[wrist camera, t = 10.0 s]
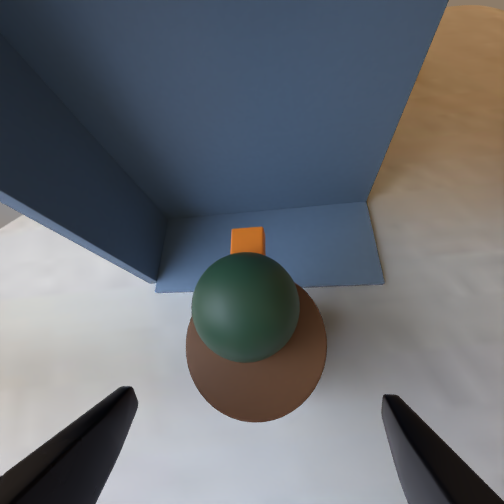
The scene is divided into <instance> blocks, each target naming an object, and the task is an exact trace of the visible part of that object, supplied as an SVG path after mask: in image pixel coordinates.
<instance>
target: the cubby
mask: <svg viewBox="0 0 504 504" xmlns="http://www.w3.org/2000/svg"><path fill="white" fill-rule="evenodd" d="M448 1H449V0H0V202H1V203H3V204H5V205H7V206H9V207H11V208H12V209H14V210H16V211H18V212H20V213H22V214H23V215H25V216H27V217H29V218H31V219H32V220H34V221H36V222H38V223H40V224H42V225H44V226H45V227H47V228H49V229H51V230H53V231H55V232H56V233H58V234H60V235H62V236H64V237H66V238H67V239H69V240H71V241H73V242H75V243H77V244H78V245H80V246H82V247H84V248H86V249H88V250H89V251H91V252H93V253H95V254H97V255H99V256H100V257H102V258H104V259H106V260H108V261H110V262H111V263H113V264H115V265H117V266H119V267H121V268H122V269H124V270H126V271H128V272H130V273H132V274H133V275H135V276H137V277H139V278H141V279H143V280H144V281H146V282H148V283H157V284H156V289H155V292H156V293H171V292H194V290H195V287H196V285H197V283H198V281H199V279H200V277H201V276H202V274H203V273H204V272H205V271H206V269H207V268H208V267H209V266H211V265H212V264H213V263H214V262H216V261H217V260H219V259H221V258H222V257H224V256H227V255H230V250H231V232H232V229H235V228H248V227H263V228H264V232H265V251H266V256H267V257H270V258H271V259H273V260H275V261H276V262H278V263H279V264H280V265H281V266H282V267H283V268H284V269H285V270H286V271H287V272H288V273H289V275H290V276H291V278H292V279H293V281H294V282H295V283H296V284H298V285H299V286H300V287H302V288H305V287H331V286H358V285H383V284H384V283H385V282H384V278H383V273H382V269H381V264H380V260H379V256H378V251H377V247H376V242H375V238H374V233H373V229H372V225H371V220H370V216H369V211H368V207H367V203H366V200H367V198H368V195H369V193H370V191H371V188H372V186H373V183H374V181H375V178H376V176H377V174H378V171H379V169H380V166H381V164H382V161H383V159H384V157H385V154H386V152H387V149H388V147H389V144H390V142H391V140H392V137H393V135H394V132H395V130H396V127H397V125H398V122H399V120H400V118H401V115H402V113H403V110H404V108H405V105H406V103H407V101H408V98H409V96H410V93H411V91H412V88H413V86H414V84H415V81H416V79H417V76H418V74H419V71H420V69H421V67H422V64H423V62H424V59H425V57H426V54H427V52H428V49H429V47H430V45H431V42H432V40H433V37H434V35H435V32H436V30H437V28H438V25H439V23H440V20H441V18H442V15H443V13H444V11H445V8H446V6H447V3H448Z"/></svg>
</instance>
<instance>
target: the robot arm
mask: <svg viewBox="0 0 504 504" xmlns="http://www.w3.org/2000/svg"><path fill="white" fill-rule="evenodd" d="M137 408H138V400H137V397H136V395H135V392H134V389H133V388H132V387H131V386H122V387H120V388H118V389H117V390H116V391H114V392H113V393H111V394H110V395H109V396H107V397H106V398H105V399H103V400H102V401H101V402H99V403H98V404H97V405H95V406H94V407H93V408H91V409H90V410H89V411H87V412H86V413H85V414H83V415H82V416H81V417H79V418H78V419H77V420H75V421H74V422H73V423H71V424H70V425H69V426H67V427H66V428H65V429H63V430H62V431H61V432H59V433H58V434H57V435H55V436H54V437H53V438H51V439H50V440H49V441H47V442H46V443H44V444H43V445H42V446H40V447H39V448H38V449H36V450H35V451H34V452H32V453H31V454H30V455H28V456H27V457H26V458H24V459H23V460H22V461H20V462H19V463H18V464H16V465H15V466H14V467H12V468H11V469H10V470H8V471H7V472H6V473H4V475H3V476H0V504H96V502H97V500H98V498H99V496H100V493H101V491H102V489H103V487H104V485H105V483H106V481H107V479H108V477H109V475H110V473H111V471H112V469H113V467H114V465H115V463H116V460H117V458H118V456H119V454H120V451H121V449H122V447H123V444H124V441H125V439H126V436H127V434H128V431H129V429H130V426H131V424H132V421H133V419H134V416H135V413H136V411H137ZM381 414H382V420H383V424H384V427H385V431H386V434H387V438H388V442H389V445H390V449H391V452H392V456H393V459H394V463H395V467H396V470H397V473H398V477H399V480H400V483H401V485H402V488H403V491H404V494H405V496H406V499H407V501H408V504H504V501H503V500H502V499H501V498H500V497H499V496H498V495H497V494H496V493H495V492H494V491H493V490H492V489H491V488H490V487H489V486H488V485H487V484H486V483H485V482H484V481H483V480H482V479H481V478H480V477H479V476H478V475H477V474H476V473H475V472H474V471H473V470H472V469H471V468H470V467H469V466H468V465H467V464H466V463H465V462H464V461H463V460H462V459H461V458H460V457H459V456H458V455H457V454H456V453H455V452H454V451H453V450H452V449H451V448H450V447H449V446H448V445H447V444H446V443H445V442H444V441H443V440H442V439H441V438H440V437H439V436H438V435H437V434H436V433H435V432H434V431H433V430H432V429H431V428H430V427H429V426H428V425H427V424H426V423H425V422H424V421H423V420H422V419H421V418H420V417H419V416H418V415H417V414H416V413H415V412H414V411H413V410H412V409H411V408H410V407H409V406H408V405H407V404H406V403H405V402H404V401H403V400H402V399H401V398H400V397H399V396H398V395H394V394H384V395H383V400H382V411H381Z"/></svg>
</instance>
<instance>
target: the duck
mask: <svg viewBox="0 0 504 504" xmlns="http://www.w3.org/2000/svg"><path fill="white" fill-rule="evenodd" d="M326 354H327V336H326V331H325V326H324V322H323V319H322V316H321V314H320V312H319V310H318V308H317V306H316V304H315V303H314V301H313V300H312V298H311V297H310V296H309V295H308V293H307V292H306V291H305V290H304V289H303V288H302V287H300V286H299V285H298V284H296V283H295V282H294V281H293V279H292V278H291V276H290V275H289V273H288V272H287V271H286V270H285V269H284V268H283V267H282V266H281V265H280V264H279V263H278V262H276V261H275V260H273V259H271V258H270V257H267V256H266V251H265V232H264V228H263V227H248V228H235V229H232V232H231V250H230V255H227V256H224V257H222V258H221V259H219V260H217V261H216V262H214V263H213V264H212V265H211V266H209V267H208V268H207V269H206V271H205V272H204V273H203V274H202V276H201V277H200V279H199V281H198V283H197V285H196V287H195V290H194V294H193V298H192V317H191V320H190V323H189V326H188V331H187V336H186V357H187V363H188V368H189V371H190V374H191V377H192V379H193V381H194V383H195V385H196V387H197V389H198V390H199V392H200V393H201V395H202V396H203V397H204V398H205V399H206V401H207V402H208V403H210V404H211V405H212V406H213V407H214V408H215V409H217V410H218V411H220V412H221V413H223V414H225V415H227V416H229V417H231V418H234V419H237V420H240V421H246V422H266V421H271V420H275V419H278V418H281V417H283V416H285V415H287V414H289V413H291V412H292V411H294V410H295V409H296V408H298V407H299V406H300V405H301V404H302V403H303V402H304V401H305V400H306V399H307V398H308V397H309V396H310V395H311V393H312V392H313V390H314V389H315V387H316V386H317V384H318V382H319V380H320V378H321V375H322V372H323V369H324V365H325V361H326Z"/></svg>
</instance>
